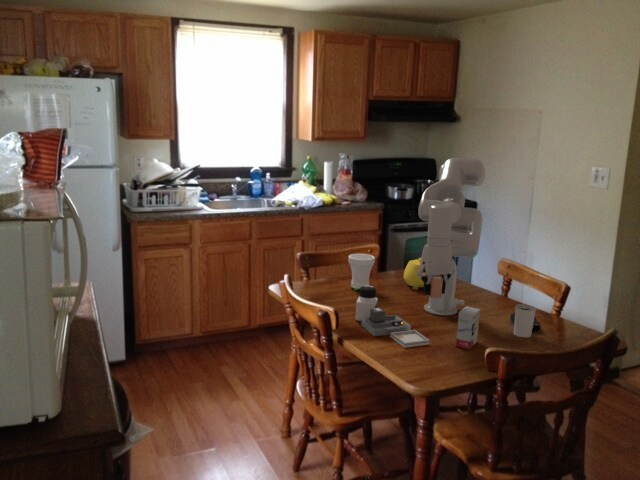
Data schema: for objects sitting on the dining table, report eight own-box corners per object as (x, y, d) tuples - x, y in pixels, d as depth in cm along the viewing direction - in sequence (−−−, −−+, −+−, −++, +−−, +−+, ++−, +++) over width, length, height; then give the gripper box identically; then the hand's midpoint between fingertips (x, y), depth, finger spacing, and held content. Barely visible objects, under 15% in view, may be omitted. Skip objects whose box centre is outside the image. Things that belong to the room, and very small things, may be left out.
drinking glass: (522, 339, 199) (525, 311, 197) (508, 332, 205) (511, 305, 203) (536, 336, 202) (540, 309, 200) (522, 329, 208) (525, 303, 206)
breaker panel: (396, 321, 210) (397, 312, 210) (410, 332, 201) (411, 322, 201) (361, 325, 205) (362, 315, 204) (374, 336, 196) (374, 326, 195)
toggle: (379, 320, 204) (380, 307, 203) (384, 323, 201) (385, 310, 199) (369, 321, 202) (370, 308, 201) (374, 324, 199) (375, 311, 198)
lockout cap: (436, 292, 201) (437, 273, 199) (444, 297, 196) (446, 277, 195) (423, 293, 199) (425, 274, 197) (431, 298, 194) (433, 278, 193)
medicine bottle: (374, 322, 209) (376, 290, 206) (355, 320, 210) (356, 289, 208) (376, 316, 216) (378, 285, 213) (357, 314, 217) (359, 283, 214)
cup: (348, 283, 254) (349, 252, 251) (373, 285, 252) (375, 254, 249) (345, 291, 243) (347, 259, 240) (372, 293, 241) (374, 261, 238)
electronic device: (542, 336, 207) (533, 316, 220) (542, 323, 205) (533, 303, 219) (515, 337, 208) (508, 317, 222) (515, 324, 206) (508, 304, 220)
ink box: (469, 350, 188) (472, 315, 186) (454, 346, 191) (458, 312, 188) (477, 341, 195) (480, 308, 193) (463, 338, 198) (466, 305, 195)
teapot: (427, 280, 264) (429, 253, 261) (444, 294, 245) (447, 265, 242) (398, 281, 261) (400, 253, 258) (413, 295, 242) (415, 265, 239)
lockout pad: (414, 333, 200) (415, 329, 200) (429, 344, 191) (429, 340, 191) (390, 336, 197) (390, 332, 196) (404, 347, 188) (404, 343, 188)
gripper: (453, 237, 200) (449, 287, 204) (410, 240, 193) (406, 292, 198) (466, 242, 193) (461, 294, 197) (422, 245, 187) (418, 299, 191)
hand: (434, 292), depth 197 cm, fingers closed on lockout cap, 5 cm apart
